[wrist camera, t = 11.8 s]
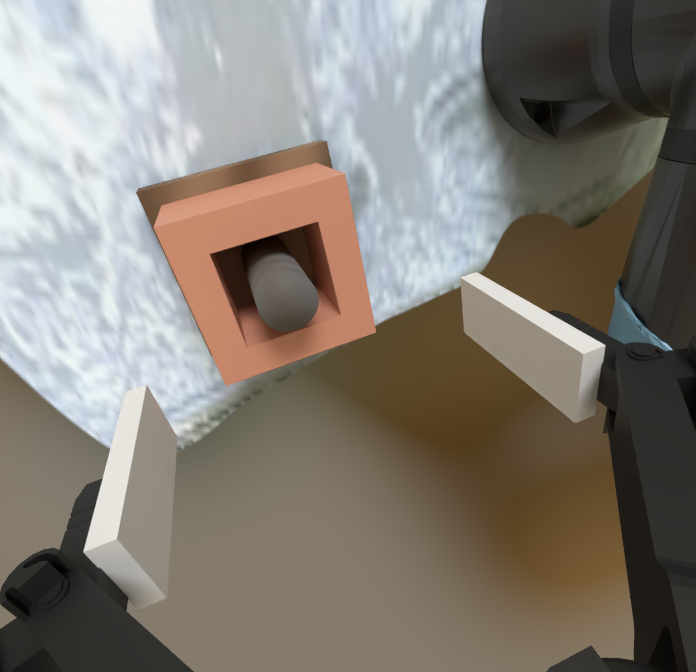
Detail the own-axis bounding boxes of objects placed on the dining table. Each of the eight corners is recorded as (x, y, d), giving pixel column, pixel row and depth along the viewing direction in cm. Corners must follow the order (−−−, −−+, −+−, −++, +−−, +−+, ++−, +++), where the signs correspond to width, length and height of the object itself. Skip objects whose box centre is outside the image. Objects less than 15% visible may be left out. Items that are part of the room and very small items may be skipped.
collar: (316, 162, 27) (344, 173, 22) (347, 298, 32) (376, 332, 27) (161, 205, 25) (153, 227, 20) (220, 341, 30) (226, 385, 25)
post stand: (320, 140, 28) (375, 150, 19) (354, 297, 34) (407, 357, 26) (138, 188, 26) (112, 224, 17) (211, 346, 32) (217, 429, 24)
